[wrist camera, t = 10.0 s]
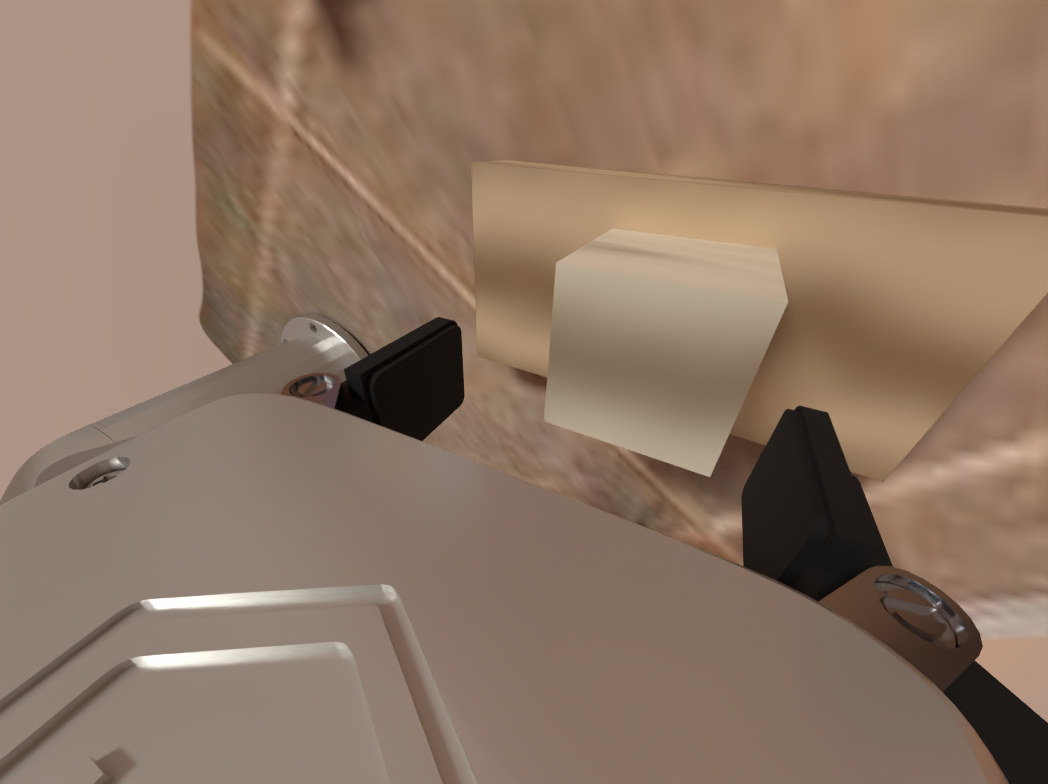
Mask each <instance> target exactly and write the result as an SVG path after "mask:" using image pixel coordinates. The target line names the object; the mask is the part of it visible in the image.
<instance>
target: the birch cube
mask: <svg viewBox="0 0 1048 784" xmlns="http://www.w3.org/2000/svg"><path fill="white" fill-rule="evenodd" d="M787 304H788V298H787V294H786V289H785V284H784V280H783V275H782V270H781V266H780V261H779V256H778V252H777V249H773V248H765V247H757V246H749V245H741V244H733V243H725V242H717V241H710V240H702V239H694V238H686V237H678V236H670V235H662V234H654V233H646V232H638V231H630V230H622V229H614V228H612V229H611V230H609V231H608V232H606V233H604V234H603V235H601V236H599V237H598V238H596V239H594V240H593V241H591V242H589V243H588V244H586V245H584V246H583V247H581V248H579V249H578V250H576V251H574V252H573V253H571V254H570V255H568V256H566V257H565V258H563V259H561V260H560V261H558V262H556V270H555V283H554V296H553V309H552V322H551V335H550V348H549V361H548V374H547V387H546V400H545V413H544V421H545V422H548V423H551V424H554V425H557V426H560V427H563V428H566V429H569V430H572V431H575V432H578V433H581V434H583V435H586V436H589V437H592V438H595V439H598V440H601V441H604V442H607V443H610V444H613V445H616V446H619V447H622V448H625V449H628V450H631V451H634V452H637V453H640V454H643V455H646V456H649V457H651V458H654V459H657V460H660V461H663V462H666V463H669V464H672V465H675V466H678V467H681V468H684V469H687V470H690V471H693V472H696V473H699V474H702V475H705V476H708V477H710V476H711V474H712V472H713V469H714V467H715V465H716V463H717V460H718V458H719V456H720V454H721V452H722V449H723V447H724V445H725V443H726V440H727V438H728V436H729V434H730V431H731V429H732V427H733V425H734V422H735V420H736V418H737V416H738V413H739V411H740V409H741V407H742V404H743V402H744V400H745V398H746V395H747V393H748V391H749V389H750V387H751V384H752V382H753V380H754V378H755V375H756V373H757V371H758V369H759V366H760V364H761V362H762V360H763V357H764V355H765V353H766V351H767V348H768V346H769V344H770V342H771V339H772V337H773V335H774V333H775V331H776V328H777V326H778V324H779V322H780V319H781V317H782V315H783V313H784V310H785V308H786V306H787Z"/></svg>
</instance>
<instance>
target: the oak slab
mask: <svg viewBox="0 0 1048 784" xmlns="http://www.w3.org/2000/svg"><path fill="white" fill-rule="evenodd" d="M471 166H472V199H473V231H474V264H475V296H476V329H477V356H479V357H483V358H486V359H489V360H492V361H495V362H499V363H502V364H505V365H508V366H511V367H515V368H518V369H521V370H524V371H528V372H531V373H534V374H537V375H540V376H544V377H547V374H548V361H549V348H550V335H551V322H552V309H553V296H554V283H555V270H556V262H558V261H560V260H561V259H563V258H565V257H566V256H568V255H570V254H571V253H573V252H574V251H576V250H578V249H579V248H581V247H583V246H584V245H586V244H588V243H589V242H591V241H593V240H594V239H596V238H598V237H599V236H601V235H603V234H604V233H606V232H608V231H609V230H611V229H612V228H614V229H622V230H630V231H638V232H646V233H654V234H662V235H670V236H678V237H686V238H694V239H702V240H710V241H717V242H725V243H733V244H741V245H749V246H757V247H765V248H773V249H777V252H778V256H779V261H780V266H781V270H782V275H783V280H784V284H785V289H786V294H787V298H788V304H787V306H786V308H785V310H784V313H783V315H782V317H781V319H780V322H779V324H778V326H777V328H776V331H775V333H774V335H773V337H772V339H771V342H770V344H769V346H768V348H767V351H766V353H765V355H764V357H763V360H762V362H761V364H760V366H759V369H758V371H757V373H756V375H755V378H754V380H753V382H752V384H751V387H750V389H749V391H748V393H747V395H746V398H745V400H744V402H743V404H742V407H741V409H740V411H739V413H738V416H737V418H736V420H735V422H734V425H733V427H732V429H731V431H730V435H734V436H737V437H740V438H743V439H746V440H750V441H753V442H756V443H759V444H763V445H767V443H768V441H769V439H770V437H771V435H772V433H773V432H774V430H775V428H776V426H777V424H778V422H779V420H780V418H781V417H782V415H783V413H784V411H785V410H786V409H792V410H794V409H795V408H796V407H797V406H799V405H800V406H804V407H808V408H812V409H816V410H820V411H824V412H828V414H829V416H830V419H831V421H832V424H833V427H834V429H835V432H836V435H837V437H838V440H839V443H840V445H841V448H842V451H843V453H844V456H845V459H846V461H847V464H848V467H849V469H850V472H853V473H856V474H859V475H862V476H866V477H869V478H872V479H875V480H878V481H882V482H883V481H884V480H885V479H886V478H887V477H888V476H889V474H890V473H891V472H892V471H893V470H894V469H895V468H896V466H897V465H898V464H899V463H900V462H901V461H902V460H903V458H904V457H905V456H906V455H907V454H908V453H909V451H910V450H911V449H912V448H913V447H914V446H915V445H916V443H917V442H918V441H919V440H920V439H921V438H922V437H923V435H924V434H925V433H926V432H927V431H928V430H929V428H930V427H931V426H932V425H933V424H934V423H935V422H936V420H937V419H938V418H939V417H940V416H941V415H942V414H943V412H944V411H945V410H946V409H947V408H948V407H949V405H950V404H951V403H952V402H953V401H954V400H955V399H956V397H957V396H958V395H959V394H960V393H961V392H962V391H963V389H964V388H965V387H966V386H967V385H968V384H969V382H970V381H971V380H972V379H973V378H974V377H975V376H976V374H977V373H978V372H979V371H980V370H981V369H982V368H983V366H984V365H985V364H986V363H987V362H988V361H989V359H990V358H991V357H992V356H993V355H994V354H995V353H996V351H997V350H998V349H999V348H1000V347H1001V346H1002V345H1003V343H1004V342H1005V341H1006V340H1007V339H1008V338H1009V336H1010V335H1011V334H1012V333H1013V332H1014V331H1015V330H1016V328H1017V327H1018V326H1019V325H1020V324H1021V323H1022V321H1023V320H1024V319H1025V318H1026V317H1027V316H1028V315H1029V313H1030V312H1031V311H1032V310H1033V309H1034V308H1035V307H1036V305H1037V304H1038V303H1039V302H1040V301H1041V300H1042V298H1043V297H1044V296H1045V295H1046V294H1047V293H1048V209H1046V208H1037V207H1026V206H1014V205H1003V204H992V203H981V202H969V201H958V200H947V199H936V198H924V197H913V196H902V195H891V194H879V193H868V192H857V191H846V190H834V189H823V188H812V187H801V186H789V185H778V184H767V183H756V182H744V181H733V180H722V179H711V178H699V177H688V176H677V175H666V174H654V173H643V172H632V171H621V170H609V169H598V168H587V167H576V166H564V165H553V164H542V163H531V162H519V161H508V160H499V161H485V162H471Z"/></svg>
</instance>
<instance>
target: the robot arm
mask: <svg viewBox="0 0 1048 784" xmlns="http://www.w3.org/2000/svg"><path fill="white" fill-rule="evenodd" d="M281 343H282V344H280V345H277V346H275V347H273V348H270V349H268V350H265V351H263V352H261V353H258V354H256V355H254V356H251V357H249V358H247V359H244V360H242V361H239V362H237V363H235V364H232V365H230V366H228V367H226V368H223V369H220V370H218V371H216V372H213V373H211V374H209V375H206V376H204V377H202V378H199V379H197V380H195V381H192V382H190V383H188V384H185V385H183V386H181V387H178V388H175V389H173V390H171V391H168V392H166V393H164V394H161V395H159V396H156V397H154V398H152V399H150V400H147V401H145V402H142V403H140V404H138V405H135V406H133V407H130V408H128V409H126V410H123V411H121V412H119V413H116V414H114V415H112V416H109V417H107V418H104V419H102V420H100V421H97V422H95V423H92V424H90V425H88V426H85V427H83V428H81V429H78V430H76V431H74V432H72V433H69V434H67V435H65V436H63V437H61V438H58V439H56V440H55V441H53V442H51V443H50V444H48V445H46V446H45V447H43V448H41V449H40V450H39V451H38V452H36V453H35V454H34V455H33V456H31V457H30V458H29V459H28V460H27V461H26V462H25V463H24V464H23V465H22V467H21V468H20V469H19V470H18V471H17V473H16V474H15V476H14V477H13V479H12V480H11V482H10V484H9V486H8V487H7V489H6V491H5V493H4V495H3V497H2V499H1V501H0V784H1048V723H1047V722H1046V721H1045V720H1044V719H1042V718H1041V717H1040V716H1039V715H1038V714H1036V713H1035V712H1034V711H1033V710H1032V709H1031V708H1030V707H1028V706H1027V705H1026V704H1025V703H1024V702H1022V701H1021V700H1020V699H1019V698H1018V697H1017V696H1015V695H1014V694H1013V693H1012V692H1011V691H1010V690H1008V689H1007V688H1006V687H1005V686H1004V685H1003V684H1002V683H1000V682H999V681H998V680H997V679H996V678H994V677H993V676H992V675H991V674H990V673H989V672H988V671H986V670H985V669H984V668H983V667H982V666H980V665H979V664H978V663H977V662H976V661H975V659H976V658H977V657H978V656H979V654H980V652H981V649H982V647H983V646H982V641H981V637H980V633H979V631H978V630H977V628H976V626H975V625H974V623H973V621H972V620H971V618H970V617H969V616H968V615H967V614H966V613H965V612H964V610H963V609H962V608H961V607H960V606H959V605H958V604H957V603H956V602H955V601H954V600H952V599H951V598H950V597H949V596H948V595H946V594H945V593H944V592H943V591H942V590H940V589H938V588H937V587H935V586H934V585H932V584H931V583H929V582H928V581H926V580H924V579H923V578H920V577H918V576H916V575H914V574H912V573H910V572H908V571H905V570H902V569H898V568H895V567H893V566H892V564H891V561H890V558H889V556H888V553H887V551H886V548H885V546H884V543H883V541H882V538H881V535H880V533H879V530H878V528H877V525H876V523H875V520H874V517H873V515H872V512H871V510H870V507H869V505H868V502H867V500H866V497H865V494H864V492H863V489H862V487H861V484H860V482H859V480H858V479H857V477H855V476H853V475H851V472H850V469H849V467H848V464H847V461H846V459H845V456H844V453H843V451H842V448H841V445H840V443H839V440H838V437H837V435H836V432H835V429H834V427H833V424H832V421H831V419H830V416H829V414H828V412H824V411H820V410H816V409H812V408H808V407H804V406H800V405H799V406H797V407H796V408H795V409H794V410H792V409H786V410H785V411H784V413H783V415H782V417H781V418H780V420H779V422H778V424H777V426H776V428H775V430H774V432H773V433H772V435H771V437H770V439H769V441H768V443H767V445H766V446H765V448H764V450H763V452H762V454H761V456H760V458H759V460H758V461H757V463H756V465H755V467H754V469H753V471H752V473H751V475H750V476H749V478H748V480H747V482H746V484H745V486H744V489H743V492H742V526H743V560H744V566H741V565H739V564H737V563H734V562H732V561H729V560H727V559H725V558H722V557H720V556H718V555H715V554H713V553H710V552H708V551H706V550H703V549H701V548H698V547H695V546H693V545H690V544H688V543H685V542H683V541H680V540H677V539H675V538H672V537H670V536H667V535H665V534H662V533H659V532H657V531H654V530H652V529H649V528H647V527H644V526H641V525H639V524H636V523H634V522H631V521H628V520H626V519H623V518H621V517H618V516H616V515H613V514H610V513H608V512H605V511H603V510H600V509H598V508H595V507H592V506H590V505H587V504H585V503H582V502H579V501H577V500H574V499H572V498H569V497H566V496H564V495H561V494H559V493H556V492H553V491H551V490H548V489H545V488H543V487H540V486H538V485H535V484H532V483H530V482H527V481H525V480H522V479H519V478H517V477H514V476H511V475H509V474H506V473H504V472H501V471H498V470H496V469H493V468H491V467H488V466H485V465H483V464H480V463H477V462H475V461H472V460H470V459H467V458H464V457H462V456H459V455H457V454H454V453H451V452H449V451H446V450H444V449H441V448H438V447H436V446H433V445H431V444H428V443H425V442H423V440H424V439H425V438H426V437H427V436H428V435H429V434H430V433H431V432H432V431H433V430H435V429H436V428H437V427H438V426H439V425H440V424H441V423H442V422H443V421H444V420H445V419H446V418H447V417H449V416H450V415H451V414H452V413H453V412H454V411H455V410H456V409H457V408H458V407H459V406H460V405H461V404H462V402H463V400H464V378H463V358H462V338H461V329H460V327H459V326H457V323H456V322H455V321H453V320H449V319H445V318H440V317H437V318H435V319H433V320H431V321H430V322H428V323H426V324H424V325H422V326H421V327H419V328H417V329H415V330H413V331H412V332H410V333H408V334H406V335H405V336H403V337H401V338H399V339H397V340H396V341H394V342H392V343H390V344H388V345H387V346H385V347H383V348H381V349H379V350H378V351H376V352H374V353H372V354H370V355H368V354H367V353H366V351H365V350H364V349H363V348H362V347H361V345H360V344H359V343H358V342H357V341H356V340H355V339H354V338H353V337H352V336H351V335H350V334H349V333H348V332H347V331H345V330H344V329H343V328H341V327H340V326H339V325H337V324H336V323H334V322H332V321H330V320H329V319H327V318H324V317H321V316H319V315H313V314H306V315H301V316H299V317H296V318H294V319H292V320H290V321H289V322H288V323H287V324H286V325H285V327H284V329H283V332H282V339H281Z"/></svg>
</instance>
